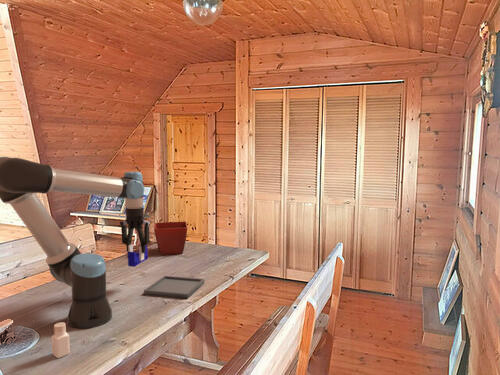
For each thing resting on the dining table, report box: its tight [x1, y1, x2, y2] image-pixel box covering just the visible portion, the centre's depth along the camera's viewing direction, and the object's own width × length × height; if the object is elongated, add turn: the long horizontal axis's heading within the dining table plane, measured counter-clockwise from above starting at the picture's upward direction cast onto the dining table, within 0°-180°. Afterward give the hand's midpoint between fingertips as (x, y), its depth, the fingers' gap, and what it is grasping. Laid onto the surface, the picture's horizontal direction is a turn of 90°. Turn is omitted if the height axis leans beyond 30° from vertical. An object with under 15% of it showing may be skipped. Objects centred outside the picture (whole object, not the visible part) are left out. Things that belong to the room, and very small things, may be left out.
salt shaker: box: [51, 322, 71, 359], centre depth 120 cm, size 4×4×10 cm
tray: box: [143, 275, 205, 300], centre depth 177 cm, size 20×20×2 cm
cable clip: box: [127, 245, 149, 268], centre depth 175 cm, size 12×4×6 cm, turn 168°
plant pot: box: [153, 221, 188, 256], centre depth 240 cm, size 19×19×17 cm
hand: (136, 259), depth 174 cm, fingers closed on cable clip, 4 cm apart
